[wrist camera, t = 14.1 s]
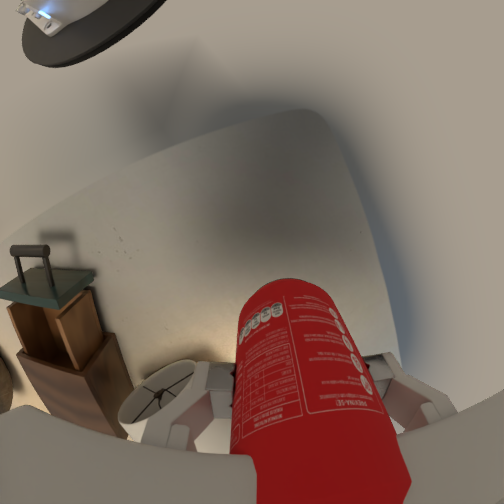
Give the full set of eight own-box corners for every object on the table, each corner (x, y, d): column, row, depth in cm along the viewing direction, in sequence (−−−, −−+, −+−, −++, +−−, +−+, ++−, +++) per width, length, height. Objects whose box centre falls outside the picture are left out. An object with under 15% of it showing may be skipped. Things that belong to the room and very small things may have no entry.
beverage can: (314, 255, 14) (437, 492, 2) (341, 329, 15) (417, 517, 4) (222, 293, 14) (180, 539, 3) (261, 360, 16) (269, 554, 4)
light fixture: (240, 489, 39) (122, 386, 35) (318, 448, 42) (217, 328, 38) (256, 547, 23) (90, 453, 19) (354, 502, 25) (229, 385, 21)
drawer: (24, 235, 27) (-13, 252, 20) (85, 232, 27) (45, 253, 20) (57, 349, 34) (34, 377, 26) (117, 362, 34) (96, 398, 26)
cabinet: (48, 321, 33) (15, 354, 24) (114, 333, 33) (84, 377, 24) (78, 389, 38) (57, 424, 29) (140, 404, 38) (123, 446, 29)
